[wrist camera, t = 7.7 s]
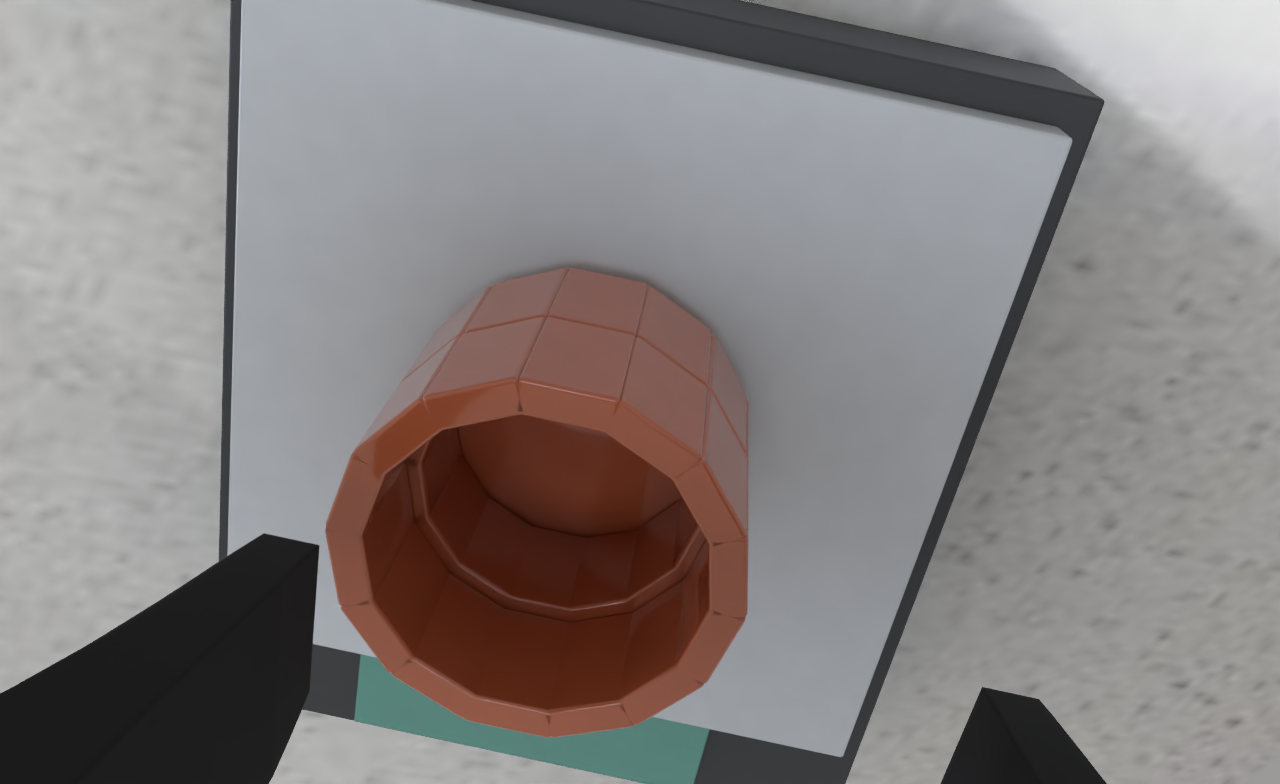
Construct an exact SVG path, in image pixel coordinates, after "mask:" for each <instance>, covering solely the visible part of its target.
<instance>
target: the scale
mask: <svg viewBox="0 0 1280 784" xmlns="http://www.w3.org/2000/svg"><path fill="white" fill-rule="evenodd" d="M1103 105H1104V100H1103V99H1102V98H1100V97H1099V96H1097V95H1095V94H1094V93H1092V92H1091V91H1089V90H1088V89H1086V88H1085V87H1083V86H1081V85H1080V84H1078V83H1077V82H1075V81H1074V80H1072V79H1071V78H1069V77H1067V76H1066V75H1064V74H1063V73H1061V72H1060V71H1058V70H1057V69H1055V68H1050V67H1046V66H1041V65H1036V64H1032V63H1027V62H1023V61H1018V60H1013V59H1009V58H1004V57H999V56H995V55H990V54H985V53H981V52H976V51H971V50H967V49H962V48H958V47H953V46H948V45H944V44H939V43H934V42H930V41H925V40H920V39H916V38H911V37H907V36H902V35H897V34H893V33H888V32H883V31H879V30H874V29H869V28H865V27H860V26H855V25H851V24H846V23H842V22H837V21H832V20H828V19H823V18H818V17H814V16H809V15H804V14H800V13H795V12H791V11H786V10H781V9H777V8H772V7H767V6H763V5H758V4H753V3H749V2H744V1H739V0H231V18H230V65H229V113H228V160H227V207H226V254H225V301H224V348H223V396H222V443H221V490H220V537H219V561H221V560H222V559H224V558H225V557H227V556H228V555H230V554H231V553H233V552H235V551H236V550H238V549H239V548H241V547H242V546H244V545H246V544H247V543H249V542H250V541H252V540H254V539H255V538H257V537H259V536H260V535H262V534H263V533H265V534H270V535H274V536H279V537H284V538H288V539H293V540H298V541H302V542H307V543H312V544H316V545H319V560H318V574H317V589H316V604H315V619H314V633H313V648H312V663H311V677H310V691H309V694H308V696H307V699H306V701H305V703H304V706H303V708H302V709H303V710H308V711H313V712H317V713H322V714H327V715H331V716H336V717H341V718H345V719H350V720H354V721H356V722H361V723H365V724H370V725H375V726H379V727H384V728H389V729H393V730H398V731H403V732H407V733H412V734H417V735H421V736H426V737H431V738H435V739H440V740H445V741H449V742H454V743H459V744H463V745H468V746H473V747H477V748H482V749H487V750H491V751H496V752H501V753H505V754H510V755H515V756H519V757H524V758H529V759H533V760H538V761H543V762H547V763H552V764H557V765H561V766H566V767H571V768H575V769H580V770H585V771H589V772H594V773H599V774H603V775H608V776H613V777H617V778H622V779H627V780H631V781H636V782H641V783H645V784H845V783H846V780H847V777H848V775H849V772H850V769H851V767H852V764H853V762H854V759H855V756H856V754H857V751H858V748H859V746H860V743H861V741H862V738H863V735H864V733H865V730H866V727H867V725H868V722H869V720H870V717H871V714H872V712H873V709H874V706H875V704H876V701H877V699H878V696H879V693H880V691H881V688H882V685H883V683H884V680H885V678H886V675H887V672H888V670H889V667H890V664H891V662H892V659H893V657H894V654H895V651H896V649H897V646H898V643H899V641H900V638H901V636H902V633H903V630H904V628H905V625H906V622H907V620H908V617H909V615H910V612H911V609H912V607H913V604H914V601H915V599H916V596H917V594H918V591H919V588H920V586H921V583H922V580H923V578H924V575H925V572H926V570H927V567H928V565H929V562H930V559H931V557H932V554H933V551H934V549H935V546H936V544H937V541H938V538H939V536H940V533H941V530H942V528H943V525H944V523H945V520H946V517H947V515H948V512H949V509H950V507H951V504H952V502H953V499H954V496H955V494H956V491H957V488H958V486H959V483H960V481H961V478H962V475H963V473H964V470H965V467H966V465H967V462H968V460H969V457H970V454H971V452H972V449H973V446H974V444H975V441H976V439H977V436H978V433H979V431H980V428H981V425H982V423H983V420H984V418H985V415H986V412H987V410H988V407H989V404H990V402H991V399H992V397H993V394H994V391H995V389H996V386H997V383H998V381H999V378H1000V376H1001V373H1002V370H1003V368H1004V365H1005V362H1006V360H1007V357H1008V354H1009V352H1010V349H1011V347H1012V344H1013V341H1014V339H1015V336H1016V333H1017V331H1018V328H1019V326H1020V323H1021V320H1022V318H1023V315H1024V312H1025V310H1026V307H1027V305H1028V302H1029V299H1030V297H1031V294H1032V291H1033V289H1034V286H1035V284H1036V281H1037V278H1038V276H1039V273H1040V270H1041V268H1042V265H1043V263H1044V260H1045V257H1046V255H1047V252H1048V249H1049V247H1050V244H1051V242H1052V239H1053V236H1054V234H1055V231H1056V228H1057V226H1058V223H1059V221H1060V218H1061V215H1062V213H1063V210H1064V207H1065V205H1066V202H1067V200H1068V197H1069V194H1070V192H1071V189H1072V186H1073V184H1074V181H1075V179H1076V176H1077V173H1078V171H1079V168H1080V165H1081V163H1082V160H1083V158H1084V155H1085V152H1086V150H1087V147H1088V144H1089V142H1090V139H1091V136H1092V134H1093V131H1094V129H1095V126H1096V123H1097V121H1098V118H1099V115H1100V113H1101V110H1102V108H1103ZM571 267H573V268H578V269H583V270H587V271H592V272H597V273H601V274H606V275H610V276H615V277H620V278H624V279H629V280H634V281H638V282H643V283H646V284H648V287H649V286H651V287H654V288H655V289H656V290H658V291H659V292H660V293H662V294H663V295H664V296H666V297H667V298H668V299H670V300H671V301H673V302H674V303H675V304H677V305H678V306H679V307H681V308H682V309H683V310H685V311H686V312H687V313H689V314H690V315H691V316H693V317H694V318H696V319H697V320H698V321H700V322H701V323H702V324H704V325H705V326H706V327H708V328H709V329H710V330H711V331H712V334H713V335H714V336H715V337H717V339H718V341H719V343H720V345H721V347H722V349H723V351H724V352H725V354H726V356H727V358H728V360H729V362H730V364H731V366H732V368H733V370H734V372H735V373H736V375H737V377H738V379H739V381H740V383H741V385H742V387H743V389H744V391H745V393H746V396H747V400H748V402H749V547H748V614H747V615H746V620H745V622H744V624H743V626H742V627H741V629H740V630H739V632H738V634H737V635H736V637H735V638H734V640H733V642H732V643H731V645H730V647H729V648H728V650H727V651H726V653H725V655H724V656H723V658H722V659H721V661H720V663H719V664H718V666H717V668H716V669H715V671H714V672H713V674H712V676H711V677H710V679H709V680H708V682H707V683H704V685H703V686H702V687H701V688H700V689H698V690H696V691H695V692H693V693H691V694H690V695H688V696H686V697H685V698H683V699H681V700H680V701H678V702H676V703H674V704H673V705H671V706H669V707H668V708H666V709H664V710H663V711H661V712H659V713H658V714H656V715H654V716H653V717H651V718H649V719H647V720H646V721H644V722H642V723H641V724H639V725H634V726H633V727H630V728H622V729H615V730H608V731H600V732H593V733H586V734H579V735H571V736H564V737H557V738H553V737H551V736H550V737H549V738H545V737H540V736H535V735H531V734H526V733H521V732H517V731H512V730H507V729H503V728H498V727H493V726H489V725H484V724H479V723H475V722H470V721H467V720H465V718H460V717H458V716H457V715H455V714H454V713H452V712H450V711H449V710H447V709H445V708H444V707H442V706H441V705H439V704H437V703H436V702H434V701H432V700H431V699H429V698H428V697H426V696H424V695H423V694H421V693H420V692H418V691H416V690H415V689H413V688H411V687H410V686H408V685H407V684H405V683H403V682H402V681H400V680H398V679H397V678H395V677H394V676H392V674H391V673H389V672H387V670H386V669H385V668H384V666H383V665H382V664H381V662H380V661H379V660H378V658H377V657H376V656H375V654H374V653H373V652H372V650H371V649H370V648H369V646H368V645H367V644H366V642H365V641H364V640H363V638H362V637H361V636H360V634H359V633H358V632H357V630H356V629H355V628H354V626H353V625H352V624H351V622H350V621H349V620H348V618H347V617H346V615H345V614H344V613H343V611H342V610H341V605H339V603H338V598H337V592H336V587H335V582H334V576H333V571H332V566H331V560H330V555H329V550H328V544H327V539H326V534H325V529H326V521H327V518H328V515H329V512H330V510H331V507H332V504H333V501H334V499H335V496H336V493H337V491H338V488H339V485H340V482H341V480H342V477H343V474H344V471H345V469H346V466H347V463H348V460H349V458H350V455H351V453H352V452H353V451H354V449H355V448H356V446H357V445H358V443H359V442H360V440H361V439H362V437H363V436H364V434H365V433H366V432H367V430H368V429H369V427H370V426H371V424H372V423H373V421H374V420H375V418H376V417H377V416H378V414H379V413H380V411H381V410H382V408H383V407H384V405H385V404H386V402H387V401H388V399H389V398H390V397H391V395H392V394H393V392H394V391H395V389H396V388H397V387H398V385H399V383H400V382H401V380H402V379H403V378H404V376H405V375H406V373H407V372H408V370H409V369H410V367H411V366H412V364H413V363H414V362H415V360H416V359H417V357H418V356H419V354H420V353H421V351H422V350H423V348H424V347H425V345H426V344H427V343H428V341H429V340H430V338H431V337H432V335H433V334H434V333H435V331H436V330H437V328H439V327H440V326H441V325H442V324H443V323H445V322H446V321H447V320H448V319H449V318H451V317H452V316H453V315H454V314H455V313H457V312H458V311H459V310H460V309H461V308H463V307H464V306H465V305H466V304H467V303H469V302H470V301H471V300H472V299H473V298H475V297H476V296H477V295H478V294H480V293H481V292H482V291H483V290H484V289H486V288H487V287H488V286H491V285H492V286H493V285H494V284H495V283H499V282H503V281H508V280H512V279H517V278H521V277H526V276H530V275H535V274H539V273H543V272H548V271H552V270H557V269H561V268H567V269H569V268H571Z"/></svg>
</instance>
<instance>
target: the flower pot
mask: <svg viewBox="0 0 1280 784" xmlns="http://www.w3.org/2000/svg"><path fill="white" fill-rule="evenodd" d="M325 534H326V539H327V544H328V550H329V555H330V560H331V566H332V571H333V576H334V582H335V587H336V592H337V598H338V603H339V605H341V610H342V611H343V613H344V614H345V615H346V617H347V618H348V620H349V621H350V622H351V624H352V625H353V626H354V628H355V629H356V630H357V632H358V633H359V634H360V636H361V637H362V638H363V640H364V641H365V642H366V644H367V645H368V646H369V648H370V649H371V650H372V652H373V653H374V654H375V656H376V657H377V658H378V660H379V661H380V662H381V664H382V665H383V666H384V668H385V669H386V670H387V672H389V673H391V674H392V676H394V677H395V678H397V679H398V680H400V681H402V682H403V683H405V684H407V685H408V686H410V687H411V688H413V689H415V690H416V691H418V692H420V693H421V694H423V695H424V696H426V697H428V698H429V699H431V700H432V701H434V702H436V703H437V704H439V705H441V706H442V707H444V708H445V709H447V710H449V711H450V712H452V713H454V714H455V715H457V716H458V717H460V718H465V720H467V721H470V722H475V723H479V724H484V725H489V726H493V727H498V728H503V729H507V730H512V731H517V732H521V733H526V734H531V735H535V736H540V737H545V738H549V737H550V736H551V737H553V738H557V737H564V736H571V735H579V734H586V733H593V732H600V731H608V730H615V729H622V728H630V727H633V726H634V725H639V724H641V723H642V722H644V721H646V720H647V719H649V718H651V717H653V716H654V715H656V714H658V713H659V712H661V711H663V710H664V709H666V708H668V707H669V706H671V705H673V704H674V703H676V702H678V701H680V700H681V699H683V698H685V697H686V696H688V695H690V694H691V693H693V692H695V691H696V690H698V689H700V688H701V687H702V686H703V685H704V683H707V682H708V680H709V679H710V677H711V676H712V674H713V672H714V671H715V669H716V668H717V666H718V664H719V663H720V661H721V659H722V658H723V656H724V655H725V653H726V651H727V650H728V648H729V647H730V645H731V643H732V642H733V640H734V638H735V637H736V635H737V634H738V632H739V630H740V629H741V627H742V626H743V624H744V622H745V620H746V615H747V614H748V547H749V402H748V400H747V396H746V393H745V391H744V389H743V387H742V385H741V383H740V381H739V379H738V377H737V375H736V373H735V372H734V370H733V368H732V366H731V364H730V362H729V360H728V358H727V356H726V354H725V352H724V351H723V349H722V347H721V345H720V343H719V341H718V339H717V337H715V336H714V335H713V334H712V331H711V330H710V329H709V328H708V327H706V326H705V325H704V324H702V323H701V322H700V321H698V320H697V319H696V318H694V317H693V316H691V315H690V314H689V313H687V312H686V311H685V310H683V309H682V308H681V307H679V306H678V305H677V304H675V303H674V302H673V301H671V300H670V299H668V298H667V297H666V296H664V295H663V294H662V293H660V292H659V291H658V290H656V289H655V288H654V287H651V286H649V287H648V284H646V283H643V282H638V281H634V280H629V279H624V278H620V277H615V276H610V275H606V274H601V273H597V272H592V271H587V270H583V269H578V268H573V267H571V268H569V269H567V268H561V269H557V270H552V271H548V272H543V273H539V274H535V275H530V276H526V277H521V278H517V279H512V280H508V281H503V282H499V283H495V284H494V285H493V286H492V285H491V286H488V287H487V288H486V289H484V290H483V291H482V292H481V293H480V294H478V295H477V296H476V297H475V298H473V299H472V300H471V301H470V302H469V303H467V304H466V305H465V306H464V307H463V308H461V309H460V310H459V311H458V312H457V313H455V314H454V315H453V316H452V317H451V318H449V319H448V320H447V321H446V322H445V323H443V324H442V325H441V326H440V327H439V328H437V330H436V331H435V333H434V334H433V335H432V337H431V338H430V340H429V341H428V343H427V344H426V345H425V347H424V348H423V350H422V351H421V353H420V354H419V356H418V357H417V359H416V360H415V362H414V363H413V364H412V366H411V367H410V369H409V370H408V372H407V373H406V375H405V376H404V378H403V379H402V380H401V382H400V383H399V385H398V387H397V388H396V389H395V391H394V392H393V394H392V395H391V397H390V398H389V399H388V401H387V402H386V404H385V405H384V407H383V408H382V410H381V411H380V413H379V414H378V416H377V417H376V418H375V420H374V421H373V423H372V424H371V426H370V427H369V429H368V430H367V432H366V433H365V434H364V436H363V437H362V439H361V440H360V442H359V443H358V445H357V446H356V448H355V449H354V451H353V452H352V453H351V455H350V458H349V460H348V463H347V466H346V469H345V471H344V474H343V477H342V480H341V482H340V485H339V488H338V491H337V493H336V496H335V499H334V501H333V504H332V507H331V510H330V512H329V515H328V518H327V521H326V529H325Z"/></svg>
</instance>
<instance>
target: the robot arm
mask: <svg viewBox="0 0 1280 784" xmlns="http://www.w3.org/2000/svg"><path fill="white" fill-rule="evenodd" d="M318 560H319V545H316V544H312V543H307V542H302V541H298V540H293V539H288V538H284V537H279V536H274V535H270V534H265V533H263V534H262V535H260V536H259V537H257V538H255V539H254V540H252V541H250V542H249V543H247V544H246V545H244V546H242V547H241V548H239V549H238V550H236V551H235V552H233V553H231V554H230V555H228V556H227V557H225V558H224V559H222V560H221V561H219V562H218V563H216V564H215V565H213V566H212V567H210V568H209V569H207V570H206V571H204V572H203V573H201V574H200V575H198V576H196V577H195V578H193V579H192V580H190V581H189V582H187V583H186V584H184V585H183V586H181V587H180V588H178V589H177V590H175V591H173V592H172V593H170V594H169V595H167V596H166V597H164V598H163V599H161V600H160V601H158V602H156V603H155V604H153V605H152V606H150V607H148V608H147V609H145V610H144V611H142V612H140V613H139V614H137V615H136V616H134V617H132V618H131V619H129V620H127V621H126V622H124V623H123V624H121V625H119V626H118V627H116V628H115V629H113V630H111V631H110V632H108V633H107V634H105V635H103V636H102V637H100V638H98V639H97V640H95V641H93V642H92V643H90V644H88V645H87V646H85V647H83V648H82V649H80V650H78V651H76V652H74V653H73V654H71V655H69V656H67V657H66V658H64V659H62V660H60V661H58V662H57V663H55V664H53V665H51V666H50V667H48V668H46V669H44V670H42V671H41V672H39V673H37V674H35V675H34V676H32V677H30V678H28V679H26V680H25V681H23V682H21V683H19V684H18V685H16V686H14V687H12V688H10V689H8V690H6V691H5V692H3V693H1V694H0V784H269V782H270V780H271V778H272V777H273V775H274V772H275V770H276V768H277V766H278V763H279V761H280V759H281V757H282V754H283V752H284V750H285V748H286V745H287V743H288V741H289V739H290V736H291V734H292V732H293V729H294V727H295V725H296V722H297V720H298V718H299V715H300V713H301V710H302V708H303V706H304V703H305V701H306V699H307V696H308V694H309V691H310V677H311V663H312V648H313V633H314V619H315V604H316V589H317V574H318ZM941 784H1106V782H1105V781H1104V780H1103V779H1102V777H1101V776H1100V775H1099V773H1098V772H1097V771H1096V770H1095V768H1094V767H1093V766H1092V765H1091V763H1090V762H1089V761H1088V759H1087V758H1086V757H1085V756H1084V754H1083V753H1082V752H1081V751H1080V749H1079V748H1078V747H1077V745H1076V744H1075V743H1074V742H1073V740H1072V739H1071V738H1070V737H1069V735H1068V734H1067V733H1066V732H1065V730H1064V729H1063V728H1062V726H1061V725H1060V724H1059V723H1058V722H1057V720H1056V719H1055V718H1054V717H1053V715H1052V714H1051V713H1050V712H1049V711H1048V709H1047V708H1046V707H1045V706H1044V705H1043V704H1042V702H1041V701H1040V700H1039V699H1035V698H1031V697H1026V696H1021V695H1017V694H1012V693H1007V692H1003V691H998V690H993V689H989V688H984V687H982V689H981V691H980V694H979V696H978V698H977V701H976V703H975V705H974V708H973V710H972V712H971V715H970V717H969V719H968V722H967V724H966V726H965V728H964V731H963V733H962V735H961V738H960V740H959V742H958V745H957V747H956V749H955V752H954V754H953V756H952V759H951V761H950V763H949V766H948V768H947V770H946V773H945V775H944V777H943V780H942V782H941Z"/></svg>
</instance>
